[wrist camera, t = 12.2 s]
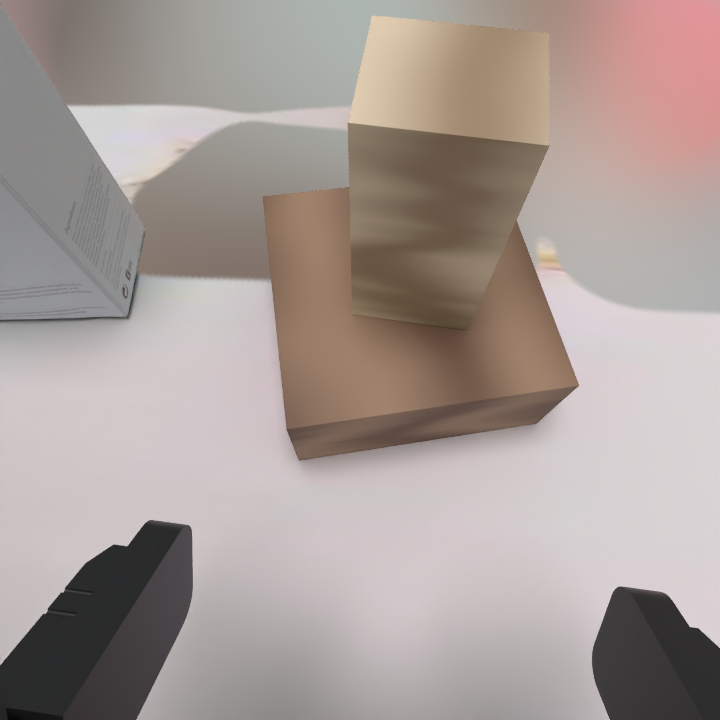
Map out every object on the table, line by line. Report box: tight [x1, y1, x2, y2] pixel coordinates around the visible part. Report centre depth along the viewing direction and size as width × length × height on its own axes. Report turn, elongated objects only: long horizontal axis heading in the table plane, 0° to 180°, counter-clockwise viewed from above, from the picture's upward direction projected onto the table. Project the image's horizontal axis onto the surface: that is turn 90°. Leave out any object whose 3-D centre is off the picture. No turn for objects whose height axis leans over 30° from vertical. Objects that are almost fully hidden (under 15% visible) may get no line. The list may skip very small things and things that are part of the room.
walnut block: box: [263, 187, 579, 460], centre depth 22 cm, size 11×11×5 cm
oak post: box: [348, 15, 549, 330], centre depth 16 cm, size 5×4×9 cm
